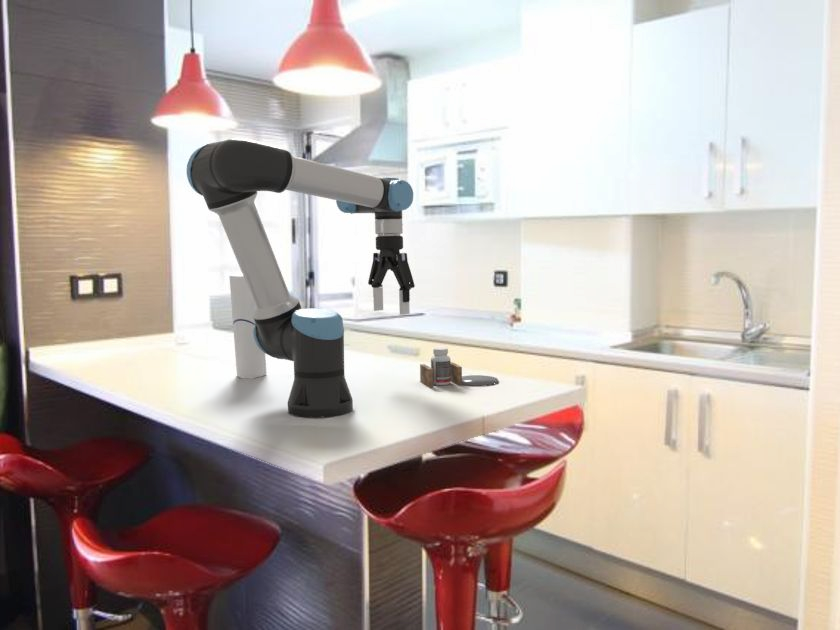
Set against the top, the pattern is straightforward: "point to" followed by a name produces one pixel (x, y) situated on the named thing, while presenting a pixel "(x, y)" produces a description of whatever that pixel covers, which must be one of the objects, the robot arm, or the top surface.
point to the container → (245, 330)
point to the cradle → (427, 374)
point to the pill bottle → (441, 366)
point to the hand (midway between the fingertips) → (391, 312)
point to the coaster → (478, 380)
